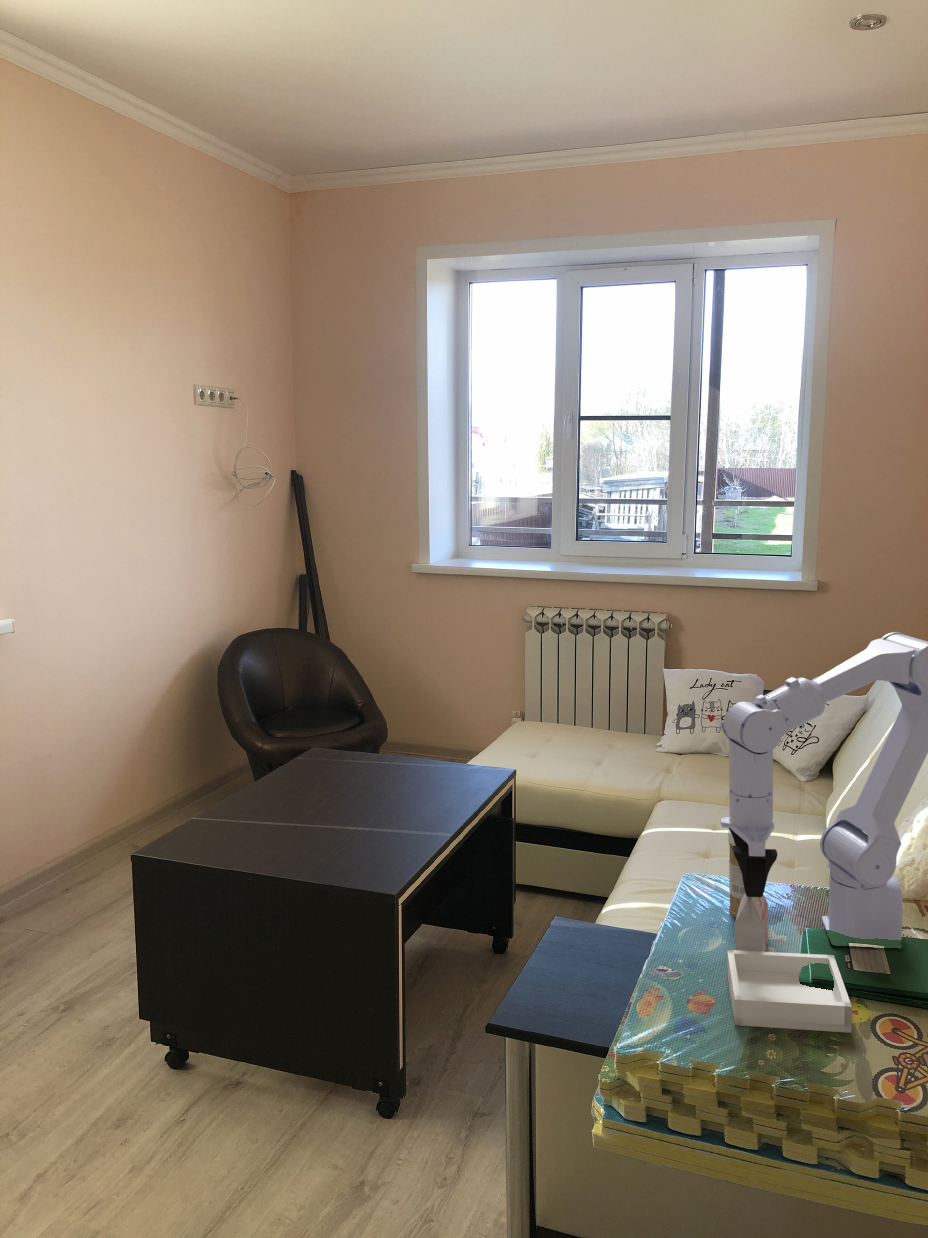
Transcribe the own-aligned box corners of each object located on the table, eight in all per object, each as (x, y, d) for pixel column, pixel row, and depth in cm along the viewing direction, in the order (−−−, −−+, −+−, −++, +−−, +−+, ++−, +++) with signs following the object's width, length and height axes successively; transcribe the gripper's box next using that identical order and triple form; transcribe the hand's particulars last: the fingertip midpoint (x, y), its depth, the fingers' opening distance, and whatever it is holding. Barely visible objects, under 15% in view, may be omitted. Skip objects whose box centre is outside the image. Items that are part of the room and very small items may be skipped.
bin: (833, 979, 125) (833, 955, 125) (851, 1032, 114) (851, 1006, 114) (727, 973, 128) (727, 950, 127) (734, 1025, 117) (734, 999, 116)
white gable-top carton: (735, 961, 131) (735, 895, 129) (741, 937, 137) (740, 873, 135) (762, 966, 129) (763, 898, 128) (767, 941, 136) (767, 876, 134)
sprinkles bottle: (766, 914, 143) (766, 830, 141) (745, 923, 141) (745, 839, 138) (742, 903, 147) (742, 821, 144) (722, 912, 144) (721, 829, 142)
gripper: (716, 771, 137) (717, 859, 139) (725, 810, 123) (725, 907, 125) (767, 772, 135) (767, 860, 138) (782, 811, 121) (781, 909, 124)
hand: (750, 883), depth 131 cm, fingers open, 7 cm apart
